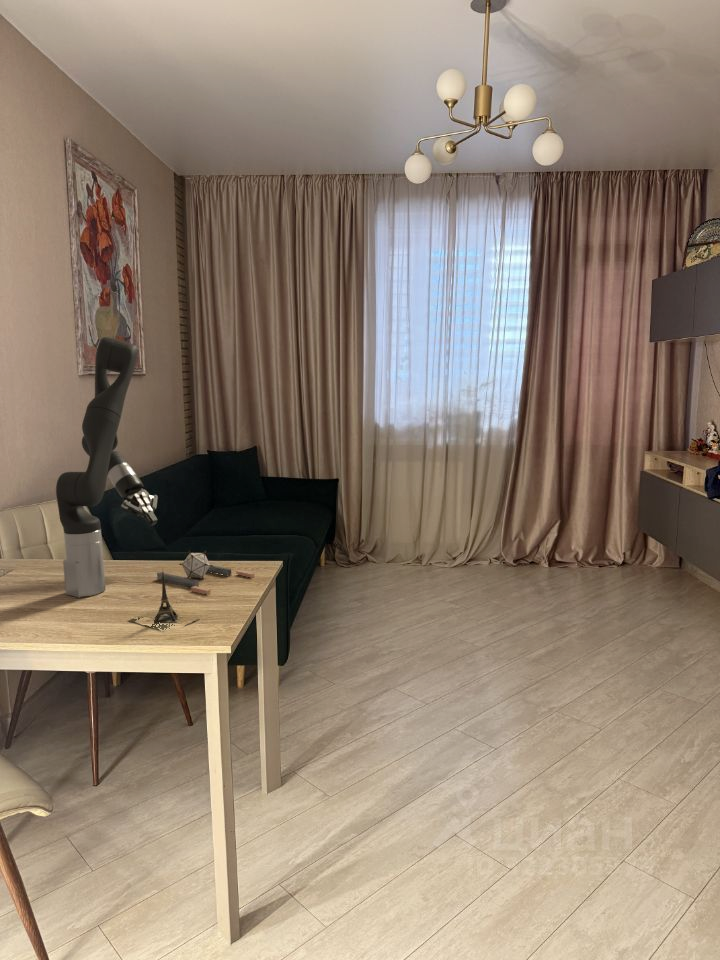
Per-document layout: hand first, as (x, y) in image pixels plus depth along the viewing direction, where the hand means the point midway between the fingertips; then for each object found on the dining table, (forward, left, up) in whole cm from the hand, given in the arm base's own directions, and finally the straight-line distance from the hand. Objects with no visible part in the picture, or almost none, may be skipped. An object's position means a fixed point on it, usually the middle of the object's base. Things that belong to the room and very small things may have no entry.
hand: (154, 523), depth 191 cm
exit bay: (0, -29, -14) cm, 32 cm away
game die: (0, -18, -15) cm, 23 cm away
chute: (0, -17, -14) cm, 22 cm away
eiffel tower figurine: (-28, -36, -15) cm, 48 cm away
